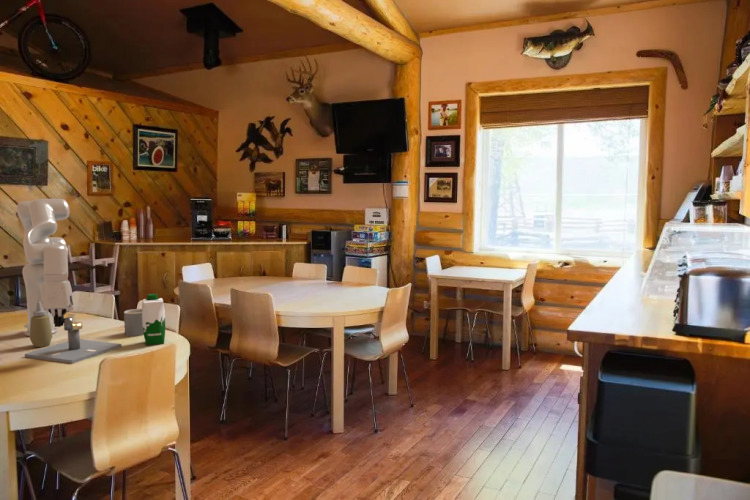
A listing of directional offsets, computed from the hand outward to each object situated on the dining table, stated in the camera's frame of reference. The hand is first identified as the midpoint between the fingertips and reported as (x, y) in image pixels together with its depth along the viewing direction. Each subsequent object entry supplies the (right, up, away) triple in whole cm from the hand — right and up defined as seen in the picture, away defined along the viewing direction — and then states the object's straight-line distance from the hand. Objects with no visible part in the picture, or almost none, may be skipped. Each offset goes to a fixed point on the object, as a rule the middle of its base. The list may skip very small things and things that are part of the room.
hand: (59, 326), depth 219 cm
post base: (+1, -12, +10) cm, 15 cm away
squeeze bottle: (-17, -11, +19) cm, 28 cm away
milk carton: (+27, -10, +24) cm, 38 cm away
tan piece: (+2, -3, +5) cm, 6 cm away
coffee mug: (+15, -8, +40) cm, 43 cm away
